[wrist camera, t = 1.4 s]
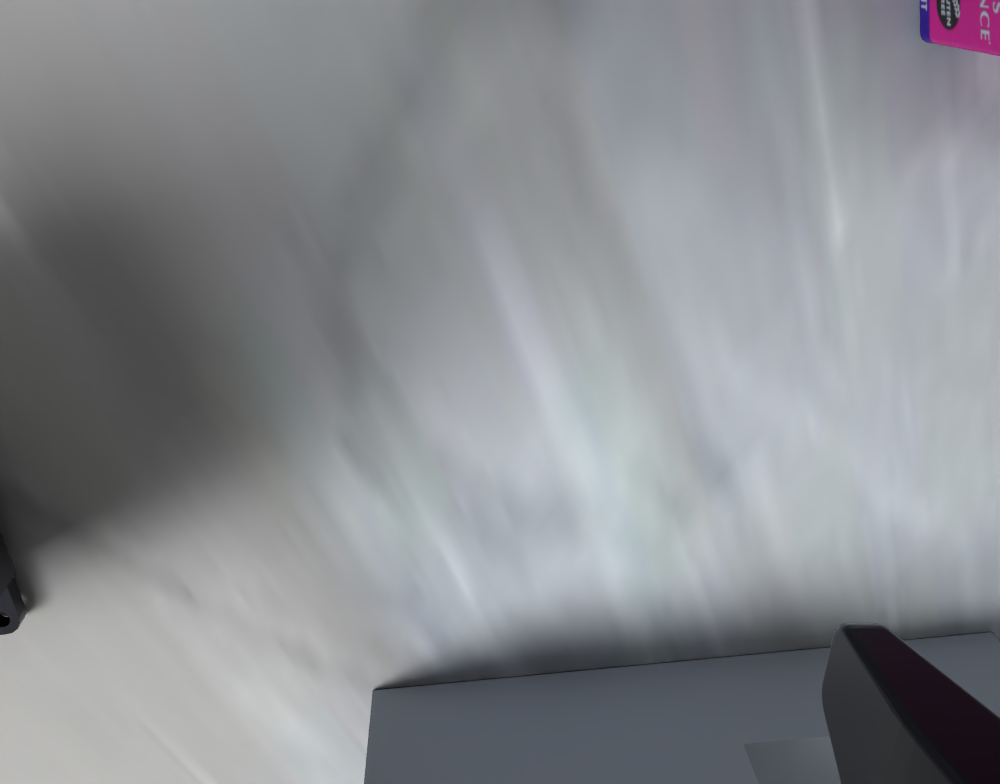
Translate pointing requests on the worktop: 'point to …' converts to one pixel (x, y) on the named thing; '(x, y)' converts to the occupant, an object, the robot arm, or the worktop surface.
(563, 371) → the worktop surface
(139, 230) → the worktop surface
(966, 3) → the supplement box
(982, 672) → the slate stair
